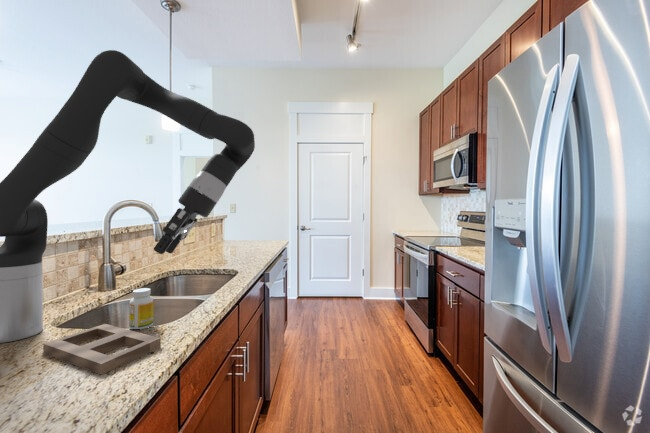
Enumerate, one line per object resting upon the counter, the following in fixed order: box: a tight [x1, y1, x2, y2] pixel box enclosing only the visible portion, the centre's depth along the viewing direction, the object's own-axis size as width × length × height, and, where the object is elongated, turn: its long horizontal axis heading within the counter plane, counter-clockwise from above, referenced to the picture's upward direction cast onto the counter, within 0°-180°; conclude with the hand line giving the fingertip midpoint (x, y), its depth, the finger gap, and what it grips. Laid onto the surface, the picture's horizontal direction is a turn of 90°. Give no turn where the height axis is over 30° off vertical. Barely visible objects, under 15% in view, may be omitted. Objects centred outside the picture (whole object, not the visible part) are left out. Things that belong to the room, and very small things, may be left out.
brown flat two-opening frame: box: [42, 323, 162, 376], centre depth 64 cm, size 20×12×2 cm, turn 67°
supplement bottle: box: [128, 287, 155, 331], centre depth 77 cm, size 5×5×10 cm
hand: (162, 252), depth 67 cm, fingers open, 8 cm apart
